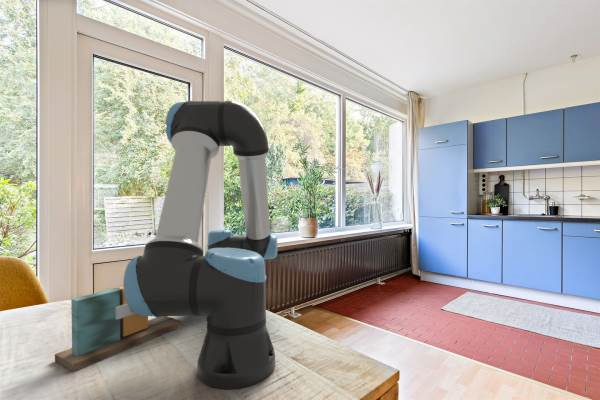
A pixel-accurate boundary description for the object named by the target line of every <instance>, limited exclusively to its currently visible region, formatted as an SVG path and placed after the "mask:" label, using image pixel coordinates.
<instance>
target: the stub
mask: <svg viewBox="0 0 600 400" xmlns="http://www.w3.org/2000/svg"><path fill="white" fill-rule="evenodd" d="M117 289H121V290H122V305H124V304H127V301H126V298H125V295H124V287H123V286H120V287H117ZM148 320H149V316H140V315H137V314H133V315H130V316H127V317H124V318H122V336H123V337H124V336H127V335H130V334H132V333H135V332H137V331H140V330H143V329H145V328H148Z"/></svg>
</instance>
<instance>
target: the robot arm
mask: <svg viewBox="0 0 600 400" xmlns="http://www.w3.org/2000/svg"><path fill="white" fill-rule="evenodd" d="M165 117H166V118H165V124H166V126H165V133H166V136H167V137H166V138H167V139H168V142H169V143H170V144H171V147H172V149H173V150H174V151H175V154H174V157H173V160H172V161H173V162H172V165H171V169H170V172H169V173H170V174H169V178H168V183H167V186H166V191H165V195H164V199H163V204H162V208H161V213H160V216H159V221H158V225H157V229H156V234H155V238H153V239H151V240H149V241H147V243H146V244H145V246H144V250H143V254H142V255H137V256H135V257H133V258H132V259H130V261H129V262H128V263H127V265H126V268H125V270H124V275H123V283H122V284H123V286H122V287H124V295H125V298H126V301H127V304H124V305H121V306H117V307H115V319H117V320H118V319H121V318H124V317H127V316H130V315H133V314H137V315H140V316H148V317H154V318H159V317H161V316H167V317H206V333H205V337H204V340H203V343H202V346H201V350H200V353H199V356H198V360H197V376H198V378H199V380H200V381H201V382H202V383H204V384H205V385H207V386H210V387H213V388H215V389H225V390H226V389H227V390H228V389H229V390H230V389H231V390H232V389H240V388H246V387H249V386H251V385H252V386H253V385H255V384H257V383H260V382H261V381H263V380H265V379H266V378H267V377H269V376H270V375H271V374H272V373H273V371H274V370H275V366H276V352H275V348H274V345H273V342H272V339H271V337H270V336H271V335H270V333H269V331H268V327H267V307H266V306H267V305H266V304H267V303H266V301H267V300H266V299H267V298H266V297H267V296H266V291H267V290H266V285H267V284H266V281H267V275H266V263H265V260H274V259H276V257H277V256H278V237H277V236H276V235H272V234H271V228H270V227H271V226H270V209H269V191H268V181H267V180H268V179H267V162H266V161H267V160H266V156H267V155H268V154H269V151H270V150H269V141H268V136H267V133H266V130H265V129H264V126H263V124H262V122H261V121H260V119H259V118H258V116H257V115H256V113H254V112H253V111H252V109H250V108H249V107H248V106H246V105H245V104H243V103H241V102H239V101H235V100H215V101H214V100H211V101H210V100H206V101H205V100H201V101H200V100H199V101H198V100H196V101H195V100H186V101H180V102H175V103H174V104H172V105H171V107H170V108H169V109H168V112H167V114H166V116H165ZM230 146H231V147H232V148H233V151H232V152H233V155H234V156H235V157H236V158H237V159H238V160H237V162H238V171H239V180H240V189H241V190H240V192H241V200H242V211H243V219H244V228H245V229H244V230H245V234H246V235H233V233H232V230H230V229H212V230H210V231H209V232H208V234H207V245H206V247H207V251H205V252H206V253H205V254H204V250H203V248H202V247H201V246H200V244H199V243H198V242H199V236H200V231H201V230H200V229H201V224H202V219H203V218H202V217H203V212H204V205H205V200H206V192H207V187H208V181H209V175H210V167H211V162H212V159H215V158H216V157H217V155H218V154H219V150H220V147H230Z"/></svg>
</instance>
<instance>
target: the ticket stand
mask: <svg viewBox="0 0 600 400" xmlns="http://www.w3.org/2000/svg"><path fill="white" fill-rule="evenodd" d="M117 288H118V287H117ZM117 288H116V287H115V288H111V289H107V290H102V291H99V292H95V293H90V294H86V295H82V296H77V297H74V298H71V299H70V300H71V304H70V306H71V347H70V348H68V349H66V350H63V351H60V352H58V353H57V352H56V353H55V354H54V362H55V363H57V364H59V365H61V366H62V367H64V368H65V369H66V370H68V371H69V372H72V373H74V372H77V371H80V370H81V369H84V368H86V367H88V366H91V365H93V364H96V363H98V362H101V361H103V360H105V359H107V358H111V357H113V356H115V355H117V354H119V353H121V352H124V351H126V350H129V349H131V348H133V347H136V346H139V345H141V344H143V343H146V342H148V341H150V340H152V339H155V338H157V337H159V336H162V335H165V334H167V333H169V332H172V331H174V330H177V329H180V328H182V320H180V319H177V318H174V317H173V316H161V317H159V318H156V317H154V318H151V319H148V328H145V329H143V330H140V331H137V332H135V333H132V334H130V335H127V336H124V337H123V336H122V318H121V319H118V320H117V319H115V307H117V306H121V305H122V290H121V289H117Z"/></svg>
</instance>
